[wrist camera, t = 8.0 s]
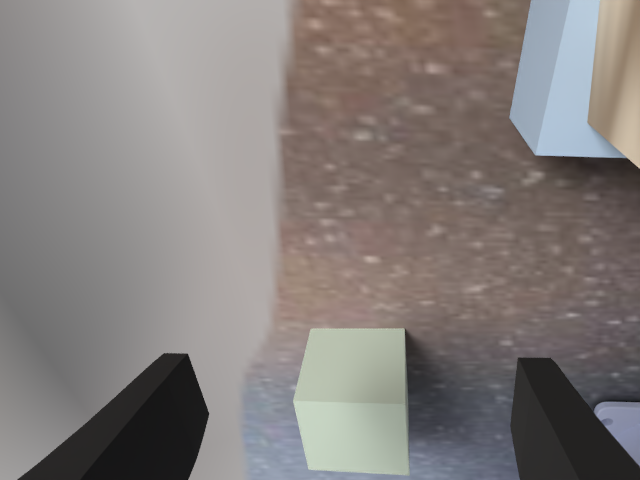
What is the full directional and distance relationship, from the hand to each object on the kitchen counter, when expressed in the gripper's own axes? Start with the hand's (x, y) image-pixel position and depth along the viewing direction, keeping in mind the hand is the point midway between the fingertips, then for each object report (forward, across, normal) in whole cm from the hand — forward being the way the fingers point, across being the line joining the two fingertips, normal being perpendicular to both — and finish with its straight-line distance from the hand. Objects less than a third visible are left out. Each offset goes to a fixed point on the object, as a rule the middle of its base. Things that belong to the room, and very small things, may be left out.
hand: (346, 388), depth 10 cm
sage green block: (+10, +1, +9) cm, 14 cm away
